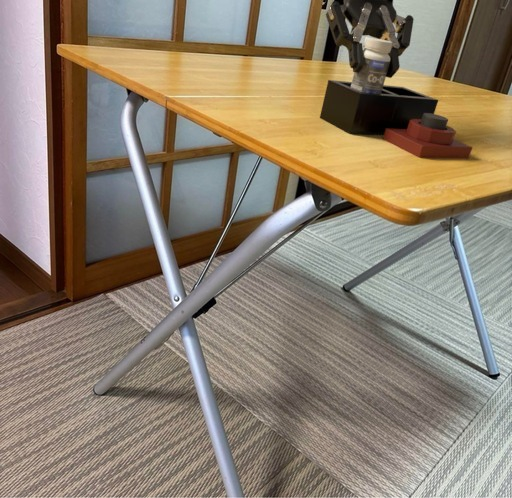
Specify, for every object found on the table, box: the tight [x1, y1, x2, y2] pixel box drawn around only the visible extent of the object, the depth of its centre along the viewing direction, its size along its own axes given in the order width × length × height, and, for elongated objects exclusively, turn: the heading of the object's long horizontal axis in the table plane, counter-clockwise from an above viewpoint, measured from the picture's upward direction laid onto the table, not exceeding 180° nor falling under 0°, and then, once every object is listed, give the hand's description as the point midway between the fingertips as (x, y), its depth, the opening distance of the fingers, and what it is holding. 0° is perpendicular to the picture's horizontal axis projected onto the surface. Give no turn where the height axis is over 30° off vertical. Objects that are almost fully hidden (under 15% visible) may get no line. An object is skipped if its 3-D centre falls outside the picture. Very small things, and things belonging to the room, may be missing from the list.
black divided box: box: [319, 79, 439, 137], centre depth 81 cm, size 16×8×6 cm, turn 117°
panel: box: [382, 119, 473, 159], centre depth 75 cm, size 10×8×4 cm
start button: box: [420, 113, 449, 130], centre depth 74 cm, size 4×4×2 cm
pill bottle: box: [351, 36, 392, 94], centre depth 77 cm, size 5×5×8 cm
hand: (375, 71), depth 76 cm, fingers closed on pill bottle, 4 cm apart
